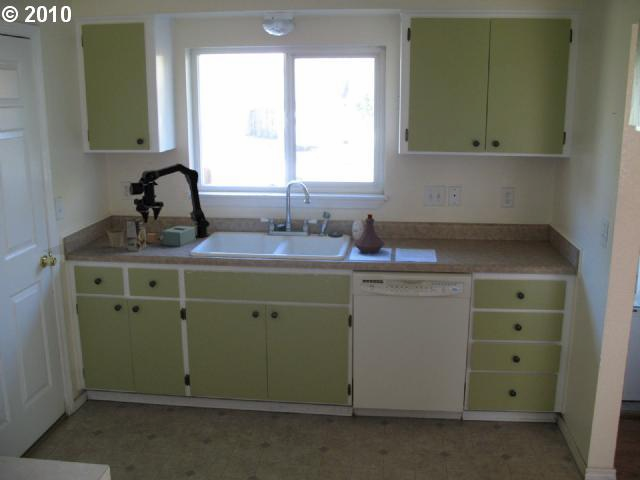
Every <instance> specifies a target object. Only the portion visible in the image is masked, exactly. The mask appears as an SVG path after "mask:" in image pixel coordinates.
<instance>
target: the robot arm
mask: <svg viewBox="0 0 640 480" xmlns="http://www.w3.org/2000/svg"><path fill="white" fill-rule="evenodd" d="M178 172H179V173H181V174H182V175H184V177H185V181H186V183H187V184H188V187H189V193H190V198H191V205H192V210H191V212H189V214H190V220H192V222H193V223H194V224H195V226H196V234H195V238H206V237H210V236H209V235H210V234H208V227H210V222H209V221H208V220H207V219H206V216H205V213H204V211H203V210H202V208H201V207H202V205H201V202H200V201H201V200H200V195H199V188H198V183H199V172H198V171H197V170H195V169H191V168H189V167H187V166H185V165H184V164H182V163H175V164H172V165H169V166H165V167H163V168H159V169H151V170H149V169H148V170H144V171H143V172H142V173H141V177H140V178H139V180H138V181H137V182H130V184H129V187H128V192H129V195H130V196H141V195H142V194H143V195H142V196H141V198H140V199H139V198H134V199H133V204H134V205H135V206H136V207H135V211H136V212H137V213H140V215H141V216H142V219H145V224H148V221H149V220H148V219H149V215H150V209H151V210H152V214H153V221H157V219H158V217H159V215H160V213H161V210H162V209H163V207H165V205H164V202H163V201H159V200H156V198H157V194H155V193H156V192H155V186H159V184H158V183H157V182H156V181H157V180H158V179H160V178H161V177H164V176H167V175H171V174H174V173H178Z"/></svg>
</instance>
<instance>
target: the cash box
mask: <svg viewBox="0 0 640 480" xmlns="http://www.w3.org/2000/svg"><path fill="white" fill-rule="evenodd" d="M161 232H162V235H161V236H163V240H162V245H163V246H168V247H178V248H181V247H183V246H186V245H188V244H191V243H194V242H196V237H195V236H196V227H195V226H187V225H186V226H185V225H176V226H173V227H170V228H167V229H164V230H162V231H161Z"/></svg>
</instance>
